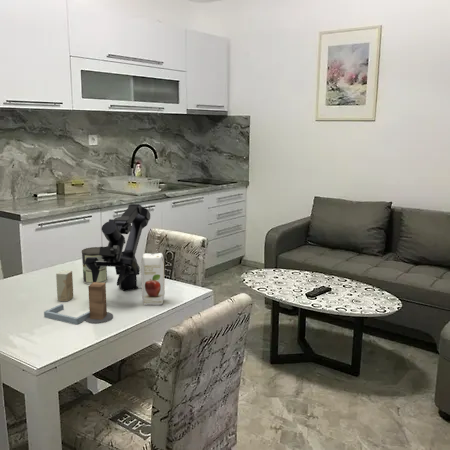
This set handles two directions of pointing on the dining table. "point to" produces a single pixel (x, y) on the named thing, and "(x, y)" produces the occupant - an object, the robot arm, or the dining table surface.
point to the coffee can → (86, 271)
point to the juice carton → (152, 279)
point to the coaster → (105, 319)
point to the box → (64, 285)
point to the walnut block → (97, 300)
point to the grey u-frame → (54, 315)
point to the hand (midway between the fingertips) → (105, 284)
